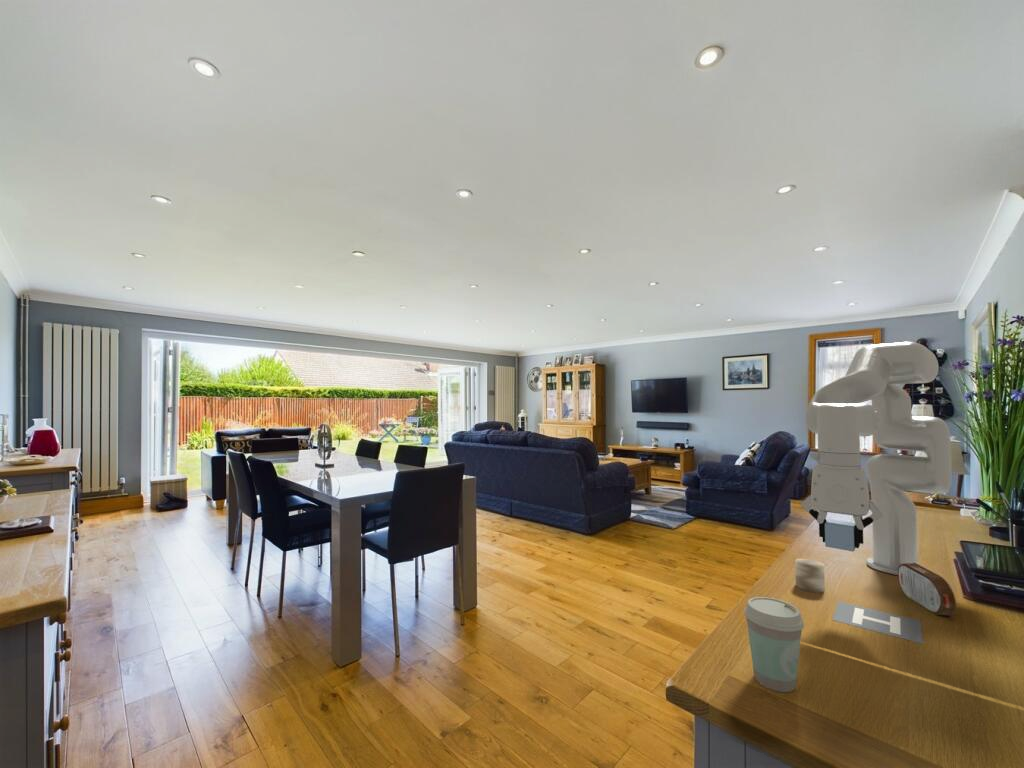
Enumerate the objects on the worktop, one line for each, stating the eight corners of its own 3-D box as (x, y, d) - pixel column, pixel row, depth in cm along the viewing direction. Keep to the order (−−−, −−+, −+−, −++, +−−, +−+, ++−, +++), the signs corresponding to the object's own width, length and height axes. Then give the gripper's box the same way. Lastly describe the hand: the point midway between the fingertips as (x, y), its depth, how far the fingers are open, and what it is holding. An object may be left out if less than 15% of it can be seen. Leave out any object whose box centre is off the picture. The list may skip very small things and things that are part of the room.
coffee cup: (784, 704, 67) (783, 623, 68) (733, 674, 75) (732, 601, 75) (817, 688, 71) (815, 611, 72) (765, 661, 79) (764, 591, 79)
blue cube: (828, 541, 101) (828, 519, 101) (856, 546, 98) (855, 523, 98) (825, 546, 98) (824, 523, 98) (853, 551, 94) (853, 527, 94)
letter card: (837, 602, 102) (837, 601, 102) (920, 622, 93) (920, 620, 93) (832, 621, 93) (832, 619, 93) (923, 645, 84) (923, 643, 84)
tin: (958, 623, 93) (957, 582, 94) (940, 621, 94) (939, 581, 94) (910, 593, 108) (908, 558, 108) (895, 592, 109) (894, 557, 109)
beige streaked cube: (793, 589, 110) (793, 563, 110) (797, 582, 114) (797, 556, 115) (823, 596, 106) (822, 569, 106) (826, 588, 110) (825, 562, 111)
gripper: (790, 458, 101) (792, 539, 101) (888, 465, 90) (891, 557, 89) (796, 455, 107) (798, 532, 106) (889, 462, 96) (892, 548, 95)
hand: (841, 542), depth 98 cm, fingers closed on blue cube, 5 cm apart
